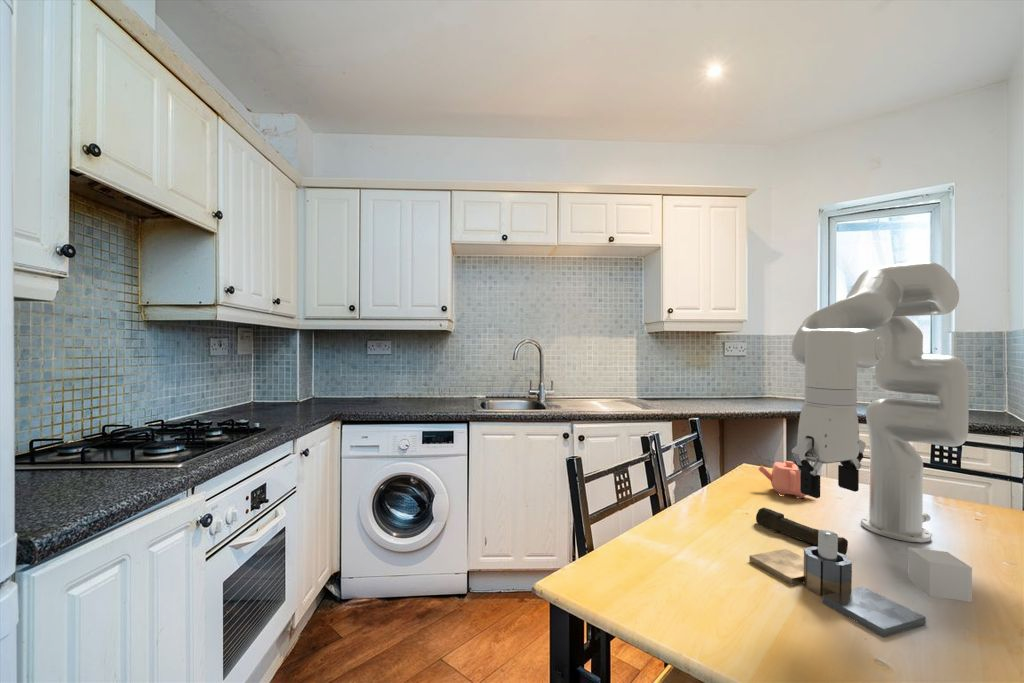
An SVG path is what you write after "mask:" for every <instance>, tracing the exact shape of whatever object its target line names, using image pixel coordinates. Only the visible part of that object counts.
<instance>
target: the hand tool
mask: <svg viewBox="0 0 1024 683" xmlns="http://www.w3.org/2000/svg"><path fill="white" fill-rule="evenodd" d="M755 522H756V523H757V524H758V525H760V526H761V527H763V528H765V529H766V530H769V531H771V530H772V532H773V531H774V532H773V533H776V532H778V533H780V534H785V535H788V536H790V537H792V538H795V539H798V540H801V541H802V542H805V543H807V544H811V545H812V546H814V547H815V546H816V547H818V531H819V530H820V529H818V528H813V527H810V526H807V525H804V524H802V523H799V522H797V521H794V520H792V519H789V518H786V517H785V514H783V513H780V512H778V511H775V510H773V509H771V508H766V507H761V508H759V509H758V511H757V513H756V515H755ZM781 532H782V533H781ZM778 533H777V534H778ZM848 544H849V541H848V539H846V538H845V537H843V536H840V537H839V536H838V549H837V552H839V553H841V554H843V555H846V556H847V552H848V546H849V545H848Z"/></svg>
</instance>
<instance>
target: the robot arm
mask: <svg viewBox="0 0 1024 683" xmlns="http://www.w3.org/2000/svg"><path fill="white" fill-rule="evenodd" d="M959 301H960V290H959V287H958V284H957V282H956V280H955V279H954V278H953V277H952V275H951V273H949V272H948V270H947V269H946V268H945V267H943V266H942V264H938V263H937V262H933V261H928V260H927V261H917V262H916V261H915V262H906V263H896V264H886V265H879V266H878V265H877V266H874V267H870V268H869V269H866V270H865V271H863V272H862V273H861V274H860V275H859V276H858V278H857V279H856V281H855V283H854V284H853V285H852V287H851V289H850V290H849V292H848V294H847V295H846V296H845V298H844V299H841V300H838V301H835V302H834V303H832V304H830V305H827V306H825V307H822V308H820V309H818V310H816V311H814V312H813V313H811V314H810V315H808V316H807V317H806V318H805V319H804V321H802V323H801V325H800V327H798V330H797V331H796V333H795V335H794V337H793V340H792V344H791V354H792V355H793V358H794V360H795V361H797V363H799V364H801V365H803V366H804V404H802V407H801V410H800V414H799V420H798V427H797V428H798V429H797V430H798V431H797V441H796V442H797V444H796V445H795V447H793V448H792V449H791V454H792V456H793V459H794V464H796V465H797V466H798V470H799V471H800V491H801V493H803V494H805V495H806V496H808V497H811V498H815V499H820V498H821V475H819V472H820V469H821V468H822V466H823V464H827V465H828V464H834V463H840V464H838V465H837V471H838V472H837V475H838V476H837V477H838V478H837V485H838V487H839V488H842V489H846V490H849V491H851V492H859V490H860V489H859V484H860V483H859V481H860V478H859V477H860V474H859V473H860V469H861V468H862V464H861V462H862V460H863V459H864V452H865V448H866V442H865V441H863V440H862V439H860V427H859V426H860V424H859V417H858V411H857V406H858V405H857V401H858V400H857V394H858V393H857V391H858V390H857V387H858V386H857V384H858V383H857V380H858V379H857V378H858V377H857V374H858V370H859V369H871V368H874V367H875V368H874V380H875V383H876V386H877V388H878V389H880V390H881V391H883V392H887V393H892V394H893V393H894V394H900V395H911V396H912V395H913V396H914V395H915V396H924V397H925V396H927V397H934V398H936V399H938V401H939V402H932V401H921V400H920V401H919V400H914V399H913V400H911V399H900V398H899V399H897V398H880V399H875V400H873V401H871V402H870V403H868V405H867V407H866V409H865V419H866V426H867V431H868V439H869V500H868V501H869V506H868V508H869V513H868V516H863V517H861V519H860V525H861V526H862V527H863V528H865V529H867V530H868V531H870V532H872V533H874V534H877V535H880V536H884V537H887V538H890V539H893V540H899V541H903V542H910V543H928V542H930V541H932V534H931V532H930V531H929V530H927V529H926V528H924V527H923V523H926V522H930V520H931V516H930V515H929V514H928V513H926V512H923V509H924V508H923V506H924V505H923V502H924V501H923V500H924V498H923V497H924V495H923V494H924V487H923V486H924V462H923V460H922V457H921V455H920V454H919V453H918V451H917V450H916V449H915V447H913V446H912V444H911V443H910V442H913V443H921V444H927V445H928V444H929V445H935V446H942V447H955V448H956V447H960V446H963V444H965V442H966V441H967V439H968V436H969V416H970V414H969V413H970V412H969V411H970V410H969V409H970V408H969V407H970V405H969V404H970V401H969V399H970V382H969V381H970V379H969V371H968V368H967V365H966V363H965V362H964V361H963V360H962V359H961V358H960V357H957V356H955V355H946V354H945V355H944V354H943V355H942V354H924V334H923V331H921V329H920V327H918V326H917V325H916V323H914V322H913V321H912V320H911V319H909V318H908V317H915V316H919V317H921V316H942V315H947V314H950V313H952V312H953V311H954V310H955V309H956V307H957V306H958V303H959ZM857 369H858V370H857ZM810 462H812V463H813V464H811V463H810Z"/></svg>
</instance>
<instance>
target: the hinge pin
mask: <svg viewBox="0 0 1024 683" xmlns="http://www.w3.org/2000/svg"><path fill="white" fill-rule="evenodd" d="M818 530H819V531H818V557H819V558H821V559H823V560H827V561H832V562H837V549H838V537H839V535H838V534H837V533H836V532H834V531H831V530H827V529H818Z"/></svg>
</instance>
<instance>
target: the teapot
mask: <svg viewBox="0 0 1024 683" xmlns="http://www.w3.org/2000/svg"><path fill="white" fill-rule="evenodd" d="M757 469H758V471H759V472H760V473H762V475H763V476H765V477H766V478H767V479H768V480H769V481H770V484H771V487H772V488H773V490H774V491H775V492H777V494H780V495H785V496H786V495H795V498H796V497H799V498H804V497H806V496H807V495H805V494H803V493H801V491H800V471H799V470H798V466H797V465H796V464H795V461H794V462H793V461H790V460H786V461H784V462H780V461H779V462H778V461H775V462H774V463H773V467H772V470H771V472H770V471H769V470H768V469H767V468H766V467H765V466H763V465H761V466H760V467H759V468H757ZM799 498H798V499H799Z"/></svg>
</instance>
